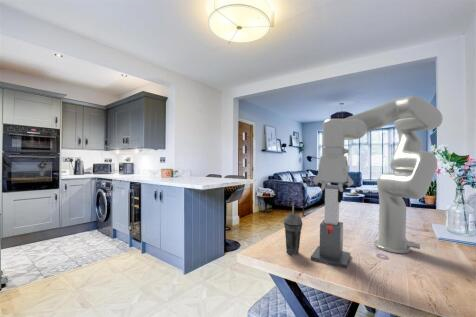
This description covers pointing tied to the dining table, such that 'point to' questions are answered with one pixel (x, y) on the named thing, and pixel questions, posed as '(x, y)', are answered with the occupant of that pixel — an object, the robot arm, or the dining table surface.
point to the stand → (331, 246)
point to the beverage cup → (292, 232)
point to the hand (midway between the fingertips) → (332, 200)
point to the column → (331, 205)
